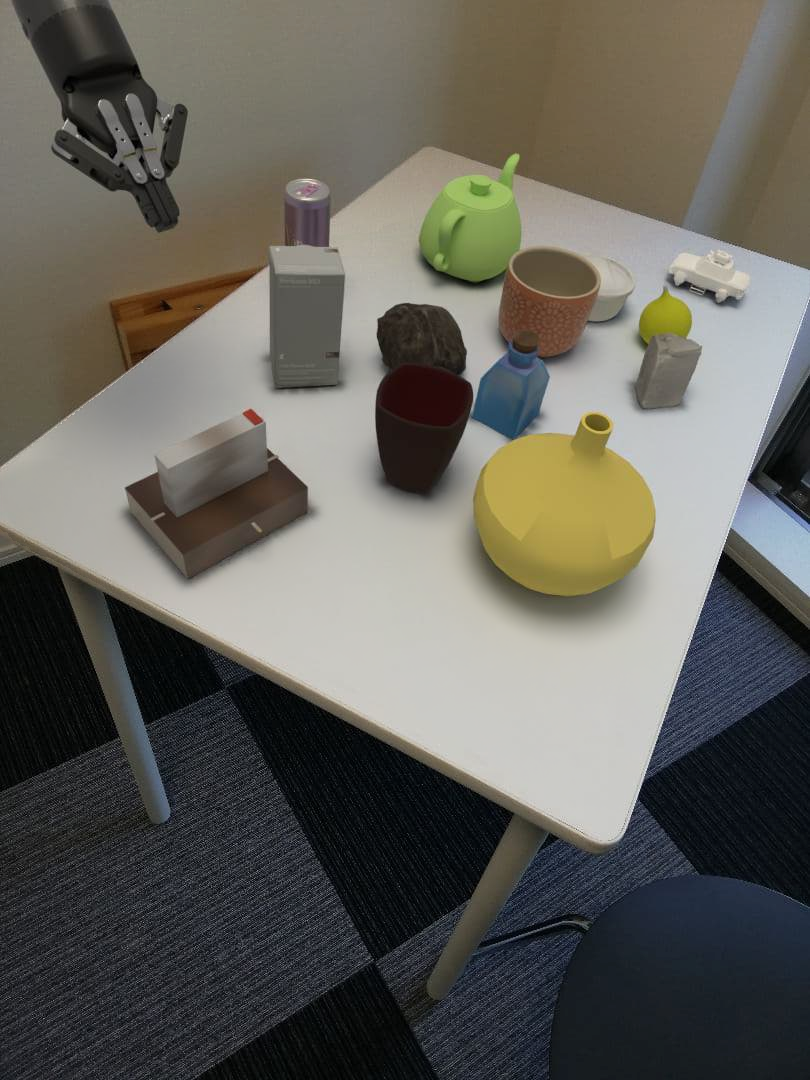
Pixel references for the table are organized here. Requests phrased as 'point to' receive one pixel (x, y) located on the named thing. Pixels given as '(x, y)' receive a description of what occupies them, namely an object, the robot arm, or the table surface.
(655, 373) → the mineral specimen
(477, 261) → the teapot
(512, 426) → the perfume bottle
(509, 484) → the vase
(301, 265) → the cosmetic box
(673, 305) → the ornament
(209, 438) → the red-tipped metal bar
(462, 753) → the table surface
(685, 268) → the toy car
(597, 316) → the ramekin
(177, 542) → the brown rectangular plinth
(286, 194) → the beverage can
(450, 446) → the mug
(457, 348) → the rock
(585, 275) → the planter
